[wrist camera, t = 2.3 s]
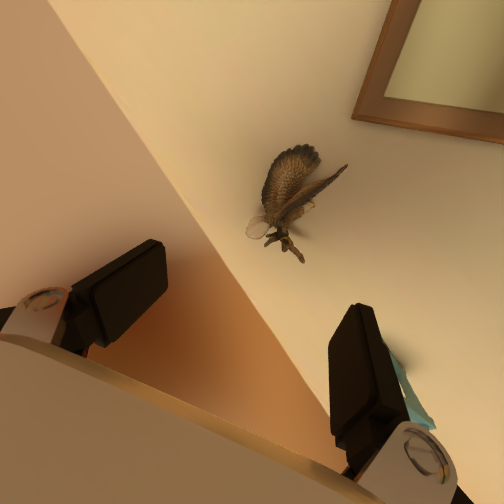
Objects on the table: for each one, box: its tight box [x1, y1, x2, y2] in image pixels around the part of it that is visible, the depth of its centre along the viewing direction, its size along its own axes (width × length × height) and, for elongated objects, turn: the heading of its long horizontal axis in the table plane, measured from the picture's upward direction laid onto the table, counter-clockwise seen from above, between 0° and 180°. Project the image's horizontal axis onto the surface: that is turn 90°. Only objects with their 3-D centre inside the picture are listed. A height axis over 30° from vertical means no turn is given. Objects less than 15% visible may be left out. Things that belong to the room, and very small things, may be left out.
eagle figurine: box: [246, 144, 348, 263], centre depth 19 cm, size 8×7×9 cm
